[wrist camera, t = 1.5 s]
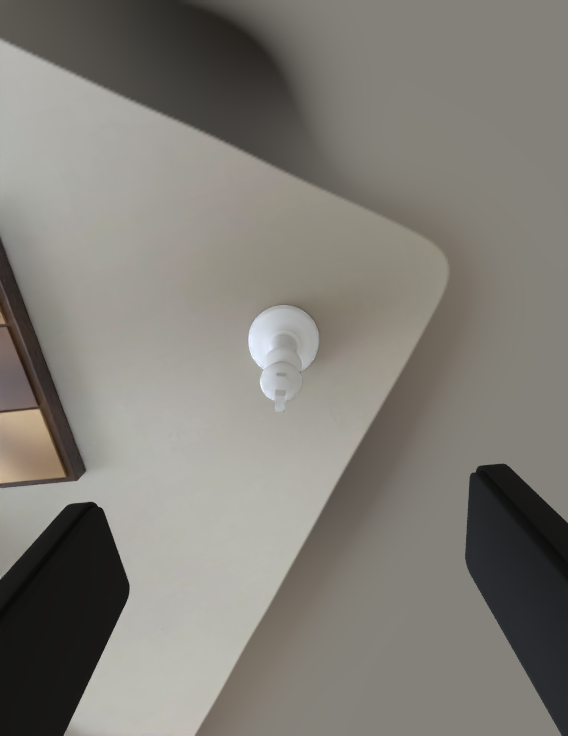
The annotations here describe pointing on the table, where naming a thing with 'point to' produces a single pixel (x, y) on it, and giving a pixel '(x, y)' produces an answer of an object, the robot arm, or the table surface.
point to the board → (29, 402)
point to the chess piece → (283, 350)
